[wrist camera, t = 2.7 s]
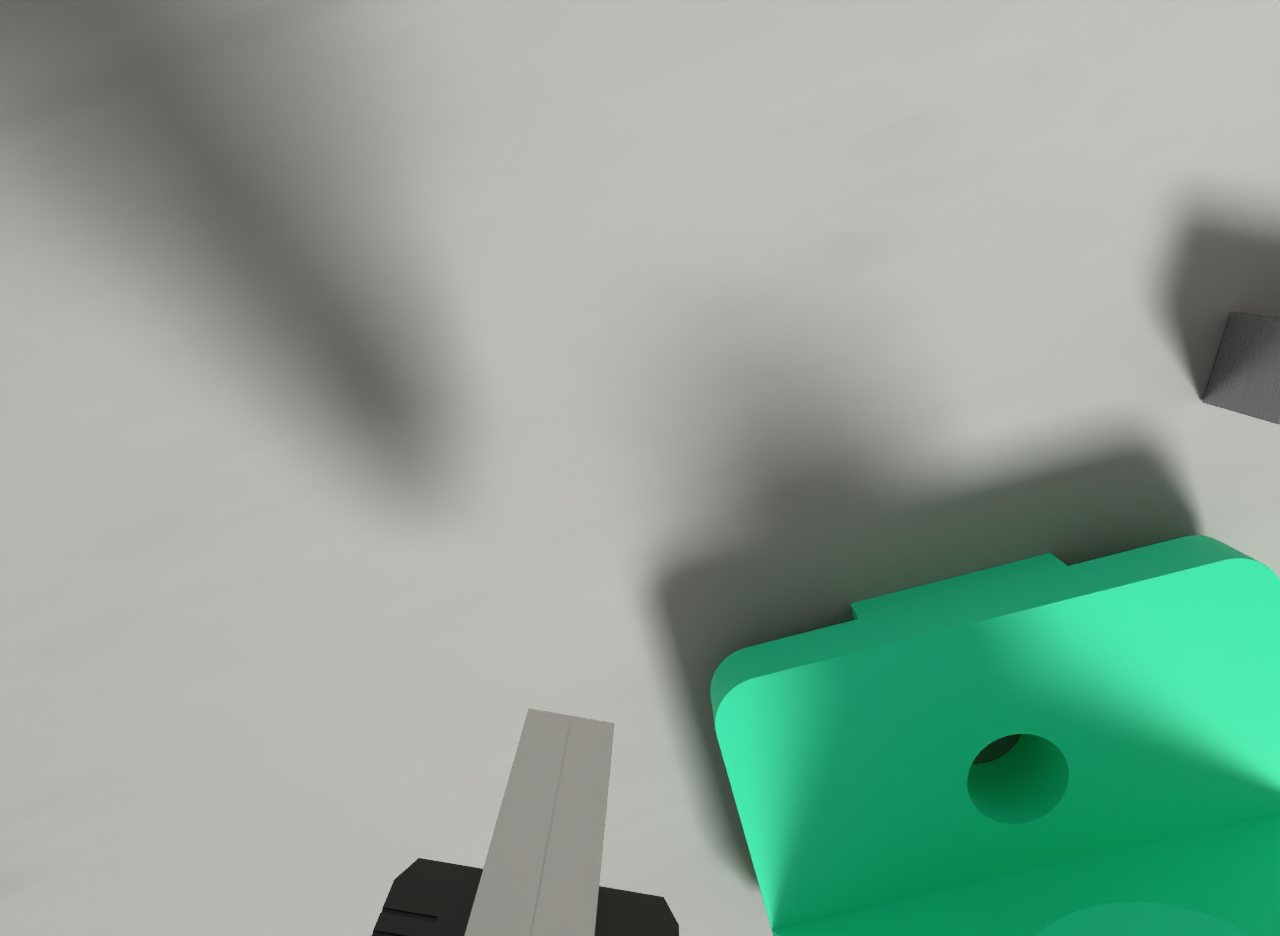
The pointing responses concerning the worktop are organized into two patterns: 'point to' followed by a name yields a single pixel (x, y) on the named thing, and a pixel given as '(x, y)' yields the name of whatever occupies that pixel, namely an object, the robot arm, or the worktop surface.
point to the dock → (1248, 368)
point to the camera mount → (1021, 753)
